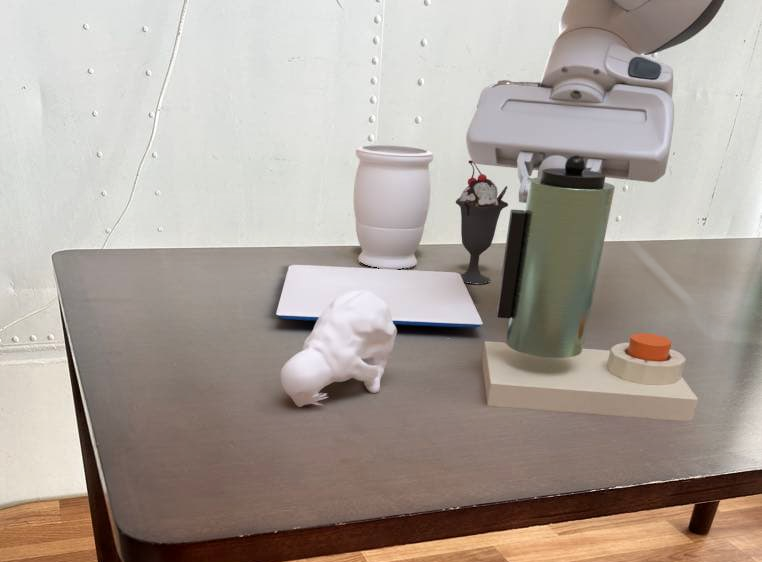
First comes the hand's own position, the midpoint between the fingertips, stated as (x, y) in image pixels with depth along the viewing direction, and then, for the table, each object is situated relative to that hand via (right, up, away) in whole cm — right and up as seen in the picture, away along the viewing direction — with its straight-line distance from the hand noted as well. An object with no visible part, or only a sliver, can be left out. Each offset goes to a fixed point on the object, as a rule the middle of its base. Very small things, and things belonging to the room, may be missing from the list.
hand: (548, 202), depth 81 cm
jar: (-15, +6, +37) cm, 40 cm away
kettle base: (+2, -19, -4) cm, 20 cm away
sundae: (-3, +2, +31) cm, 31 cm away
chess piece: (0, -4, +3) cm, 5 cm away
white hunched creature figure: (-21, -21, -7) cm, 31 cm away
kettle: (-2, -15, -4) cm, 16 cm away
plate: (-17, -6, +17) cm, 25 cm away
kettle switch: (+8, -17, -6) cm, 19 cm away
